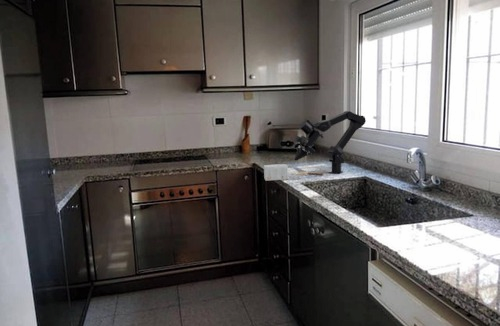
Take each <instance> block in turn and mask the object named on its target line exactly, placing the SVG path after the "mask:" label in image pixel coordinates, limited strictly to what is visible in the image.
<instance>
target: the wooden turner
mask: <svg viewBox="0 0 500 326" xmlns="http://www.w3.org/2000/svg"><path fill="white" fill-rule="evenodd" d="M295 175H299V176H308V175H310V176H324V173H323V172H310V171H309V172H308V171H299V172H296V173H295Z"/></svg>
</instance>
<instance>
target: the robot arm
mask: <svg viewBox="0 0 500 326" xmlns="http://www.w3.org/2000/svg"><path fill="white" fill-rule="evenodd" d="M346 120H348V121H349V126H348V128H347V129H346V130H345V132H344V133H343V135H342V136H341V138H340V139H339V140H338V141H337V143H336V144H335V145H334V146H333V145H331V146H330V147H329V149H328V150H327V152H326V158H327V159H328V161H329V162H330V163H331V171H329V173H330V174H336V175H337V174H338V175H339V174H342V173H343V172H344V170H342V164H344V162H345V159H344V157H343V156H342V155H343V150H344V149H345V147H346V146H347V145H348V143H349V141H350V140H351V139H352V137H353V136H354V135H355V133H356V131H357V130H359V129H361V128H362V127H363V126H364V125H365V124H366V121H367V120H366V117H365V116H364V115H359V114H357V113H354V112H352V111H350V110H349V111H348V110H346V111H343V112H341V113H339V114H337V115H335V116H333V117H330V118H329V119H328V118H327V119H323V120H319V121H316V122H315V123H314V124H313V123H311V122H310V120H309V119H305V120H304V121H303V122H301V123H300V124H299V126H298V129H300V130H301V131H302V132H303V133H304V134H305V135H307V136H304V135H301V136H299V135H294V139H293V141H294V142H293V144H292V147H293V148H295V149H296V154H295V156H294V161H295V162H297V161H298V160H301V159H303V158H305V157H307V156H309V153H310V156H315V155H316V150H315V149H314V148H313V146H316V142H317V141H318V139H319V138H320V139H324V134H323V133H325V132H327V131H328V130H330V129H331V127H333V126H335V125H337V124H339V123H341V122H343V121H346Z"/></svg>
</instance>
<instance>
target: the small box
mask: <svg viewBox="0 0 500 326" xmlns="http://www.w3.org/2000/svg"><path fill="white" fill-rule="evenodd" d="M288 171H289V166H288V165H287V164H286V163H279V164H277V163H275V164H266V165H265V164H264V165H263V173H264V174H263V177H264V180H265V181H269V182H270V181H280V180H281V181H284V180H285V181H286V180H288V179H289V172H288Z"/></svg>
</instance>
